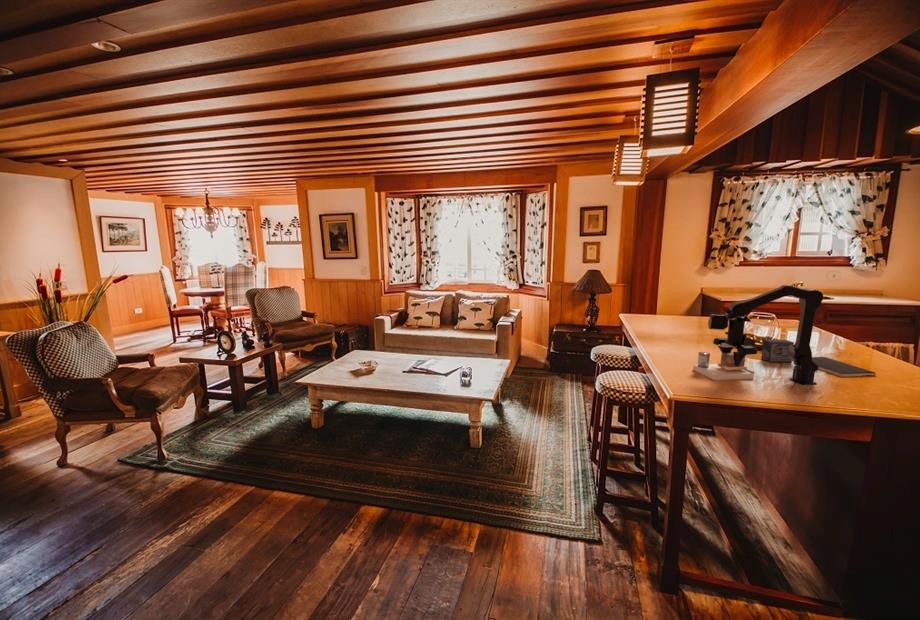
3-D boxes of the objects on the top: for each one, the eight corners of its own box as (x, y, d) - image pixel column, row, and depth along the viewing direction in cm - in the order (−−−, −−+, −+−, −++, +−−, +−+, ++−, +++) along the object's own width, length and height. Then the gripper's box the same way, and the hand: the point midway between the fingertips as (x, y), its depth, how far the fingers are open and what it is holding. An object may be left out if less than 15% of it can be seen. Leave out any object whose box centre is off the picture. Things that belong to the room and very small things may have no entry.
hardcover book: (839, 378, 169) (840, 373, 169) (793, 362, 192) (794, 357, 191) (875, 377, 170) (876, 372, 169) (824, 361, 192) (825, 356, 192)
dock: (754, 378, 169) (755, 371, 168) (714, 380, 168) (715, 373, 167) (730, 368, 182) (730, 362, 182) (693, 369, 181) (693, 363, 181)
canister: (711, 367, 176) (712, 354, 175) (701, 368, 176) (703, 354, 175) (704, 364, 180) (705, 351, 179) (694, 365, 180) (696, 352, 179)
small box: (782, 359, 195) (785, 339, 193) (792, 363, 189) (795, 342, 187) (760, 358, 196) (762, 338, 194) (769, 362, 190) (771, 342, 188)
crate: (746, 369, 170) (748, 355, 169) (727, 370, 170) (728, 356, 169) (736, 365, 176) (737, 352, 175) (717, 365, 176) (718, 352, 175)
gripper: (771, 334, 161) (766, 370, 164) (736, 325, 180) (733, 357, 183) (746, 335, 161) (742, 371, 163) (714, 326, 179) (710, 358, 182)
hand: (732, 364), depth 173 cm, fingers closed on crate, 5 cm apart
